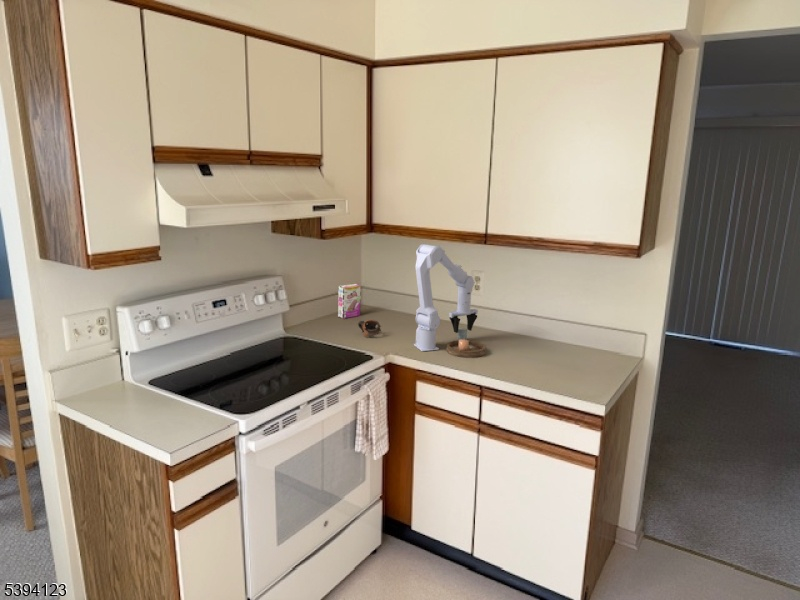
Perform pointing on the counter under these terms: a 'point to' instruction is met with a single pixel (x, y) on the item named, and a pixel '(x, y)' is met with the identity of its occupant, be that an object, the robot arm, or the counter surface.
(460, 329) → the slate bead
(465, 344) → the peach rounded cylinder
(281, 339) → the counter surface
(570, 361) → the counter surface
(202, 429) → the counter surface
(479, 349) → the walnut groove tray
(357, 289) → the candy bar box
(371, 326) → the pottery mug
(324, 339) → the counter surface
